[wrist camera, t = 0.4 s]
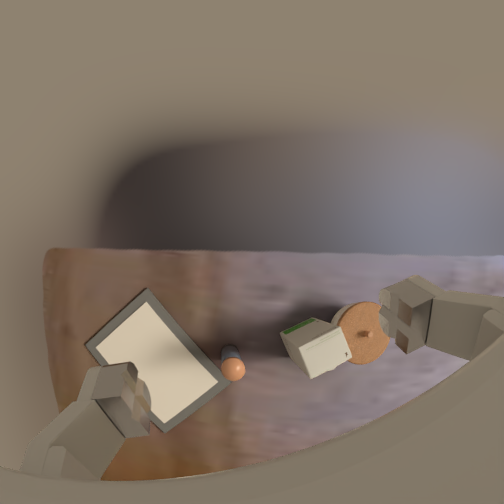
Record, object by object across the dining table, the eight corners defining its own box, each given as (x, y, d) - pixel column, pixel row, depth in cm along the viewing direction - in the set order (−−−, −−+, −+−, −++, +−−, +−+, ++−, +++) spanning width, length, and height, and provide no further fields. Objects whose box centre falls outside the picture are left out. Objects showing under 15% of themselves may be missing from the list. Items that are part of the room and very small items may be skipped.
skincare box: (312, 316, 60) (342, 323, 45) (323, 343, 60) (355, 357, 44) (277, 333, 59) (297, 346, 43) (288, 360, 58) (311, 380, 43)
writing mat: (231, 381, 56) (231, 382, 55) (165, 432, 53) (164, 434, 52) (148, 288, 57) (147, 287, 56) (86, 344, 53) (84, 345, 52)
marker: (242, 353, 57) (249, 370, 44) (229, 365, 57) (232, 385, 43) (230, 340, 57) (234, 354, 44) (216, 352, 57) (216, 369, 43)
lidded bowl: (310, 342, 59) (329, 352, 48) (336, 291, 61) (359, 290, 51) (354, 364, 60) (379, 375, 49) (378, 315, 62) (405, 318, 51)
